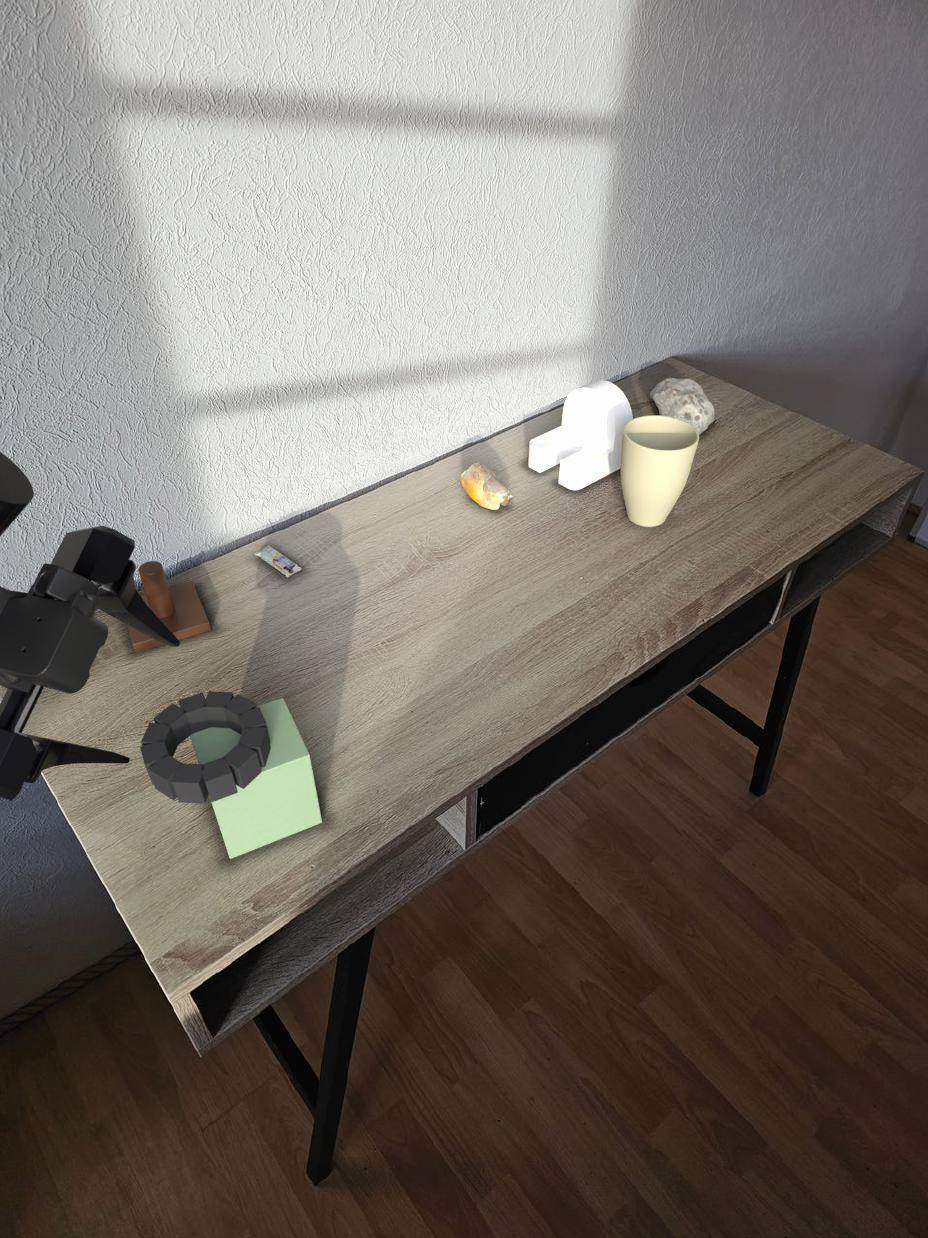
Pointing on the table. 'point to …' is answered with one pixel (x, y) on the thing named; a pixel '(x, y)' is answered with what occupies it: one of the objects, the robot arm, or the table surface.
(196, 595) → the stand
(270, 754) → the riser box
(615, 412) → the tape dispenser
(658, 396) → the decorative stone
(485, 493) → the shell
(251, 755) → the chunky treaded tire
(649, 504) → the mug
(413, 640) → the table surface
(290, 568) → the granola bar
